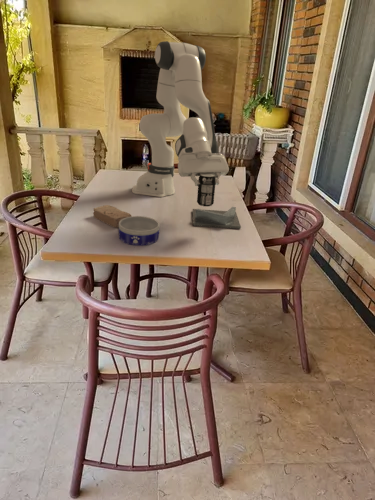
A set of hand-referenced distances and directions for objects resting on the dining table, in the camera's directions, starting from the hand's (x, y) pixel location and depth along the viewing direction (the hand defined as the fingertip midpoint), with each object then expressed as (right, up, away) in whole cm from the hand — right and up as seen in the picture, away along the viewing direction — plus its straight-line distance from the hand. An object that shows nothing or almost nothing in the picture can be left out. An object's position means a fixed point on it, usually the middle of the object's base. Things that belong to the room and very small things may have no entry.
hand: (207, 184), depth 146 cm
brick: (-39, -13, +13) cm, 43 cm away
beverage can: (-1, -7, +4) cm, 8 cm away
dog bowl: (-26, -21, -1) cm, 33 cm away
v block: (+5, -12, +21) cm, 25 cm away
